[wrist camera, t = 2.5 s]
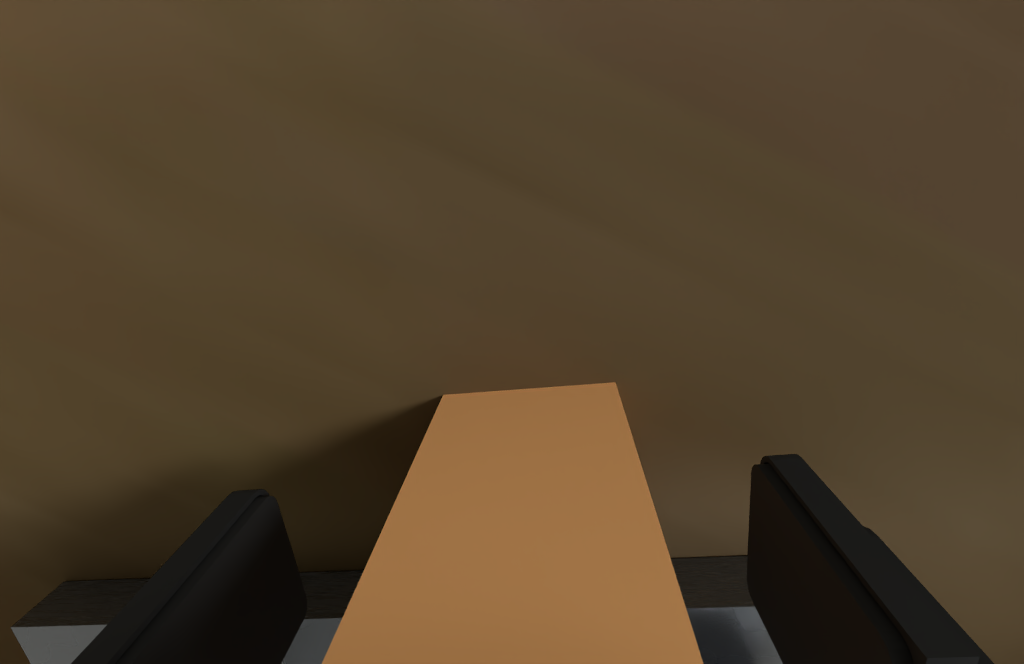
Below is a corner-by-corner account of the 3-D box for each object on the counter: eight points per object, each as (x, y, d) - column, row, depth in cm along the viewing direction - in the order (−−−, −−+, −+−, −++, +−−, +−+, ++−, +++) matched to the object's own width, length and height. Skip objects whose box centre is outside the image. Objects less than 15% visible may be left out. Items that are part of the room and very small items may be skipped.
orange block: (615, 382, 11) (711, 690, 5) (623, 527, 13) (707, 931, 6) (443, 394, 12) (307, 695, 5) (466, 534, 13) (382, 920, 6)
